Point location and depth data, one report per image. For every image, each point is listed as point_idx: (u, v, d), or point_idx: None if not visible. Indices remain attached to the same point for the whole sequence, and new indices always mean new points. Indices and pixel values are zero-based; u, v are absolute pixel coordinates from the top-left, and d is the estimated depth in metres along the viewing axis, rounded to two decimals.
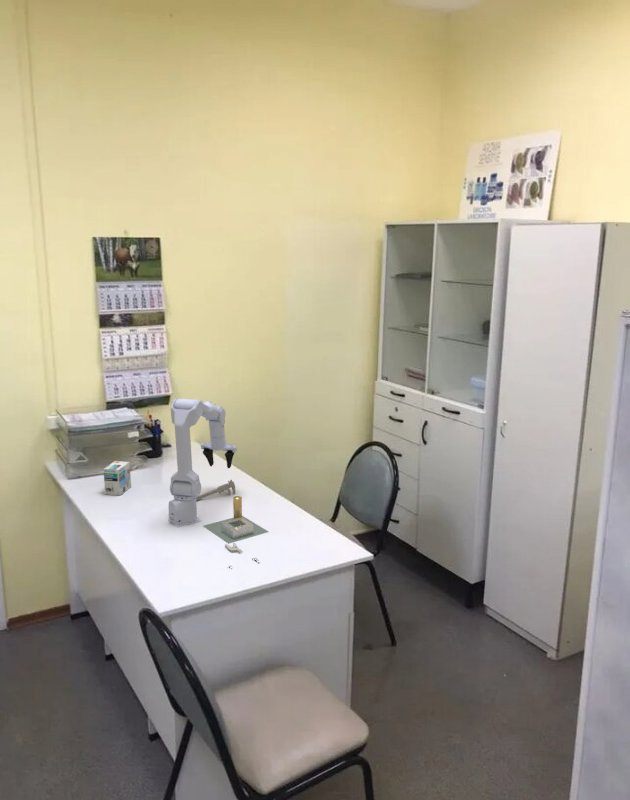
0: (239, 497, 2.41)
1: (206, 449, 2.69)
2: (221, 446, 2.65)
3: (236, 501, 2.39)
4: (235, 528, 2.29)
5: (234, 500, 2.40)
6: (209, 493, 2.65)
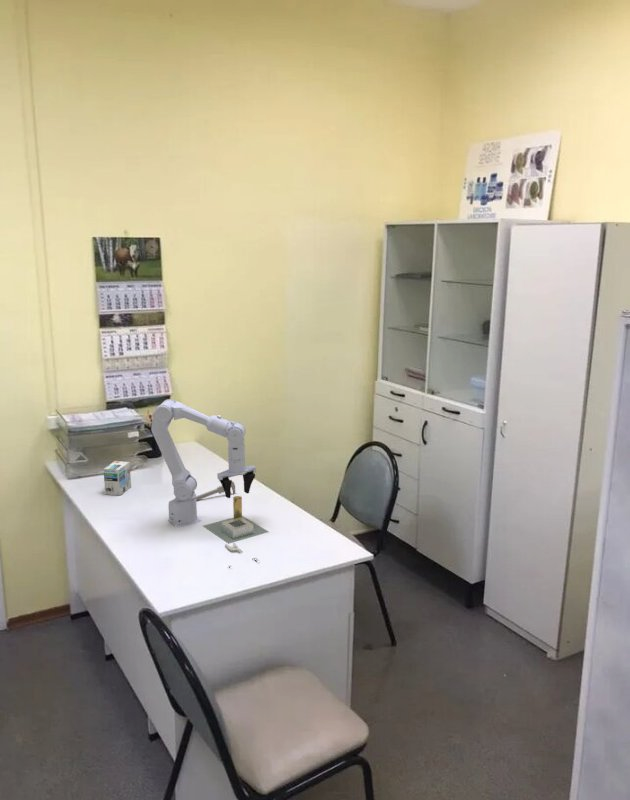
0: (239, 497, 2.41)
1: None
2: None
3: (236, 501, 2.39)
4: (235, 528, 2.29)
5: (234, 500, 2.40)
6: (209, 493, 2.65)
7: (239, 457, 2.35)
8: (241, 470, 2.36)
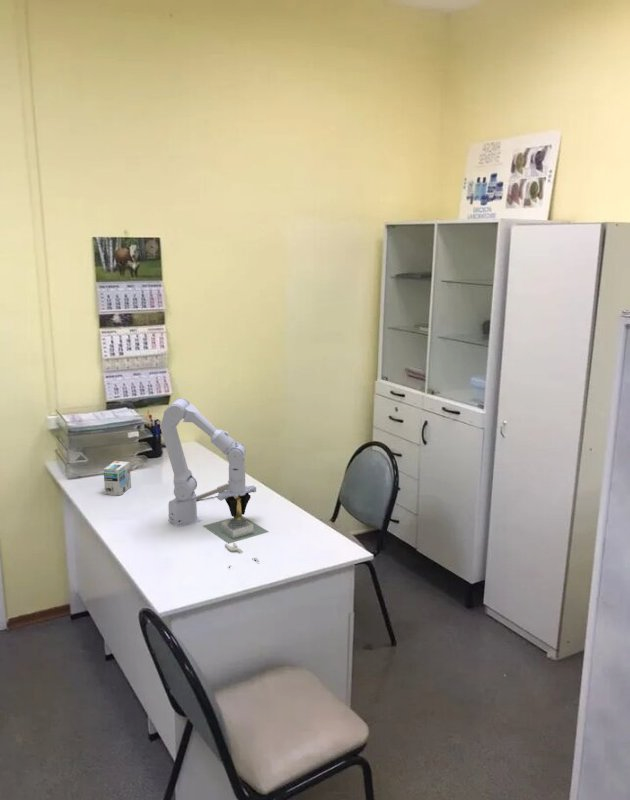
0: (239, 497, 2.41)
1: None
2: None
3: None
4: (235, 528, 2.29)
5: None
6: (209, 493, 2.65)
7: (239, 478, 2.36)
8: (241, 490, 2.38)
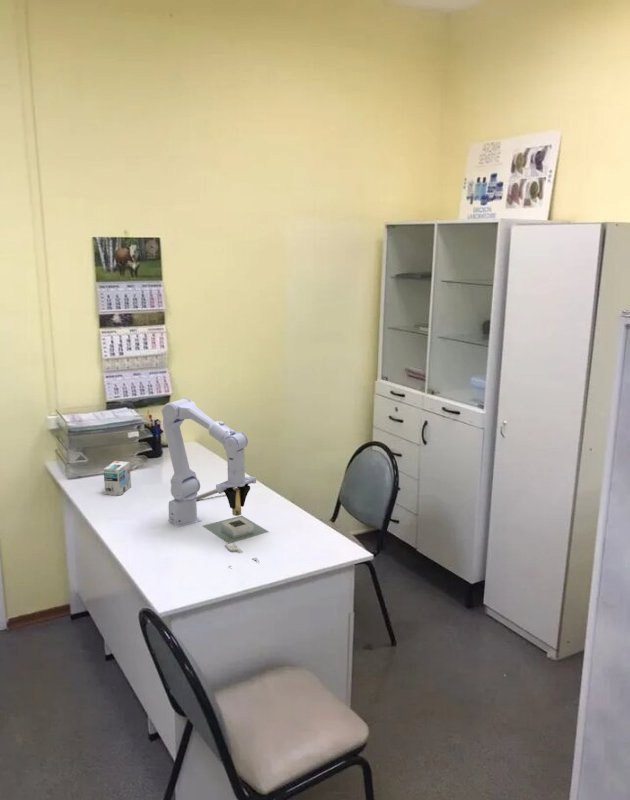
0: (238, 488, 2.30)
1: None
2: None
3: None
4: (235, 528, 2.29)
5: None
6: (209, 493, 2.65)
7: (235, 468, 2.25)
8: (241, 481, 2.27)
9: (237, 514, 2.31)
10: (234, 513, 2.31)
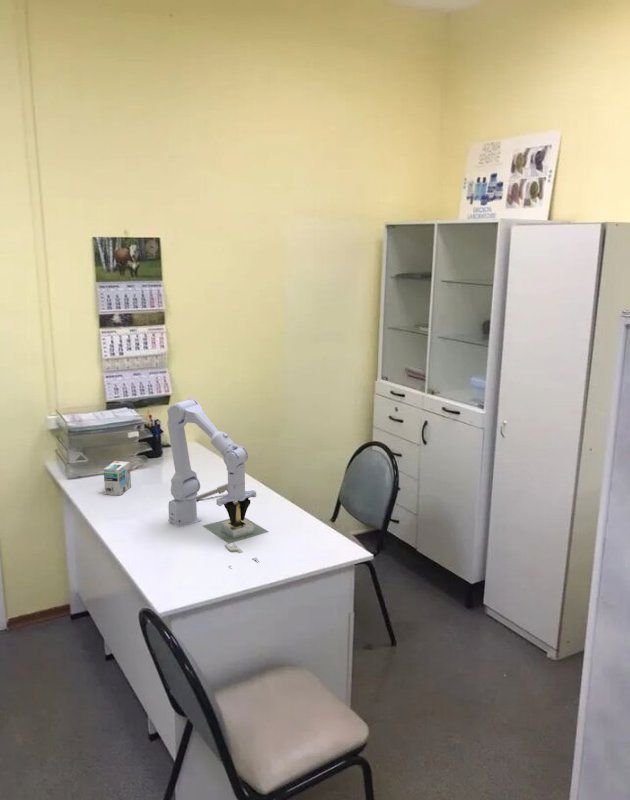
0: (238, 502, 2.31)
1: None
2: None
3: None
4: (235, 528, 2.29)
5: None
6: (209, 493, 2.65)
7: (235, 482, 2.27)
8: (241, 495, 2.28)
9: None
10: None
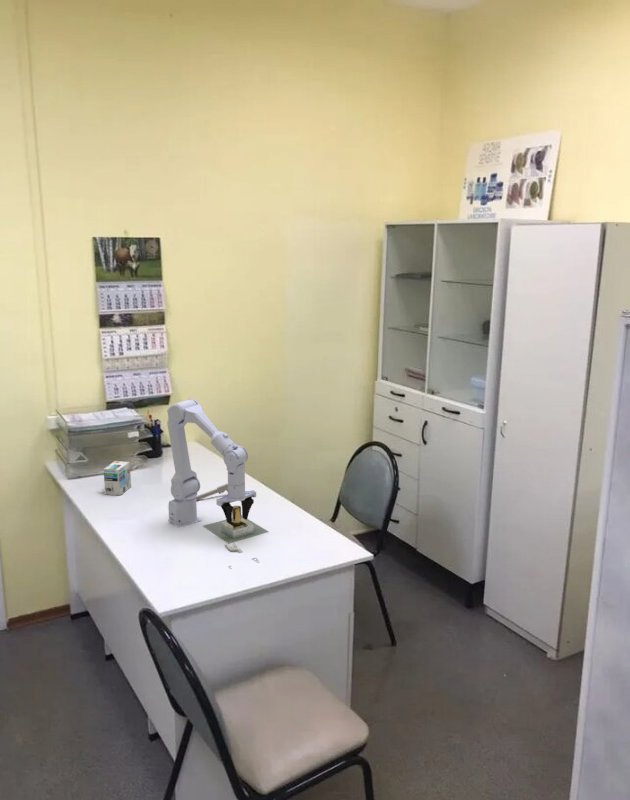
0: (238, 507, 2.32)
1: None
2: None
3: (234, 511, 2.31)
4: (235, 528, 2.29)
5: (233, 510, 2.31)
6: (209, 493, 2.65)
7: (235, 483, 2.27)
8: (241, 496, 2.28)
9: None
10: None
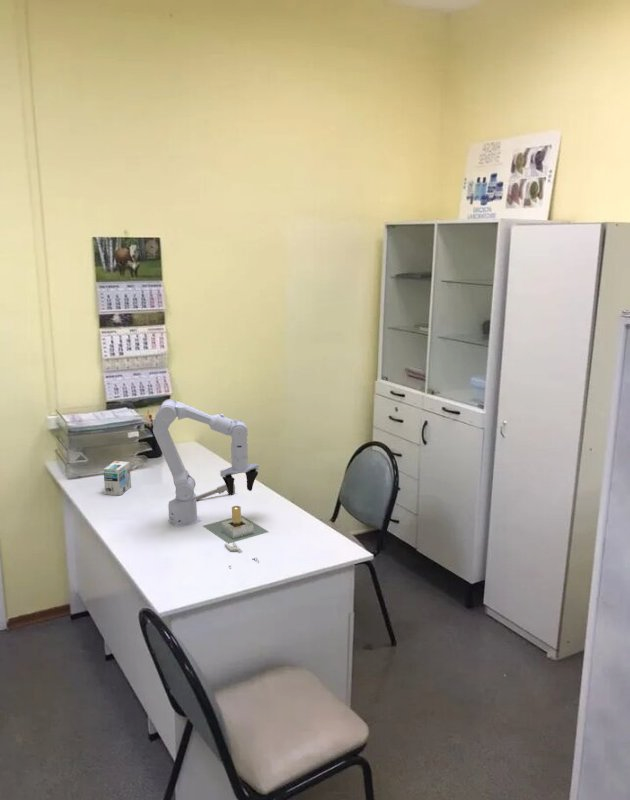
0: (238, 507, 2.32)
1: None
2: None
3: (234, 512, 2.30)
4: (235, 528, 2.29)
5: (232, 510, 2.31)
6: (209, 493, 2.65)
7: (243, 455, 2.38)
8: (244, 468, 2.39)
9: None
10: None
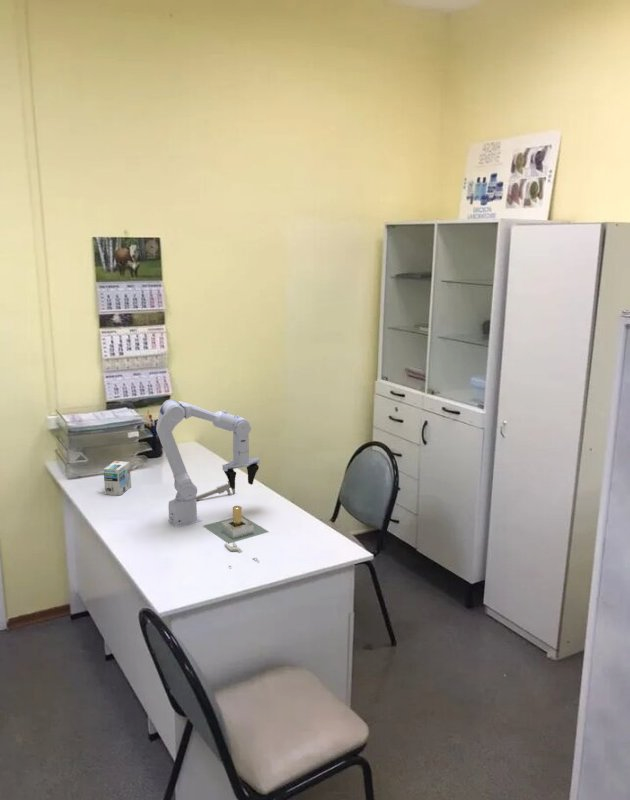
0: (239, 507, 2.32)
1: None
2: None
3: (235, 511, 2.30)
4: (235, 528, 2.29)
5: (233, 510, 2.31)
6: (209, 493, 2.65)
7: (246, 448, 2.44)
8: (245, 462, 2.45)
9: None
10: None
